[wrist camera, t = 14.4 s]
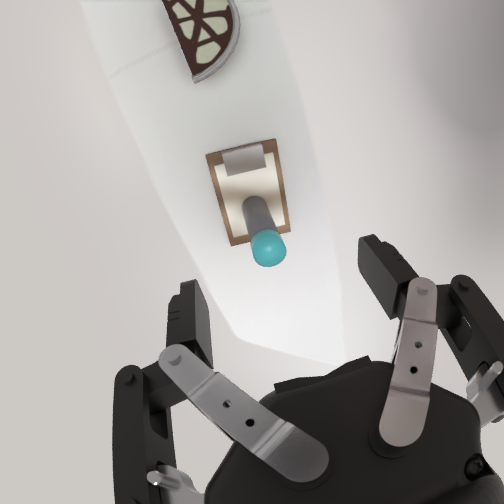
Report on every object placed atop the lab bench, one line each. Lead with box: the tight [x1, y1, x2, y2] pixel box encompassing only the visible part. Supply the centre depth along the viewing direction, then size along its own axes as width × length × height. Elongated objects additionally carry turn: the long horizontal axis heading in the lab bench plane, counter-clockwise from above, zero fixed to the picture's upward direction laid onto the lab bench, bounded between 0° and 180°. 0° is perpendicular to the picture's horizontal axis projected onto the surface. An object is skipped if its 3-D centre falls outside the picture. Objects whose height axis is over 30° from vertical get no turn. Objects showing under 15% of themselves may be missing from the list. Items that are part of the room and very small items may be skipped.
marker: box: [242, 196, 286, 267], centre depth 35 cm, size 4×4×11 cm
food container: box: [162, 0, 240, 84], centre depth 22 cm, size 12×6×10 cm, turn 18°
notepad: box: [206, 139, 291, 246], centre depth 39 cm, size 14×9×2 cm, turn 11°
